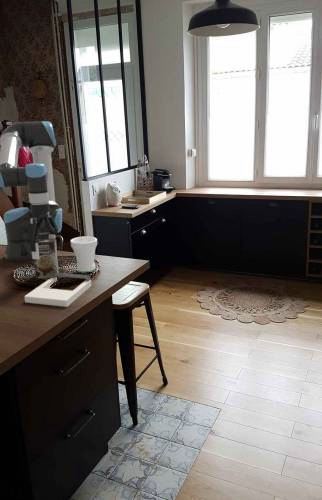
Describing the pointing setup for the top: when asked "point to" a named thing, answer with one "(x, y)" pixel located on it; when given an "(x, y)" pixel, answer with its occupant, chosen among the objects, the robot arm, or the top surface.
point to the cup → (84, 252)
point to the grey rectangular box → (46, 258)
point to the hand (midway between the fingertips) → (45, 254)
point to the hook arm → (71, 275)
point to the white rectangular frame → (55, 294)
